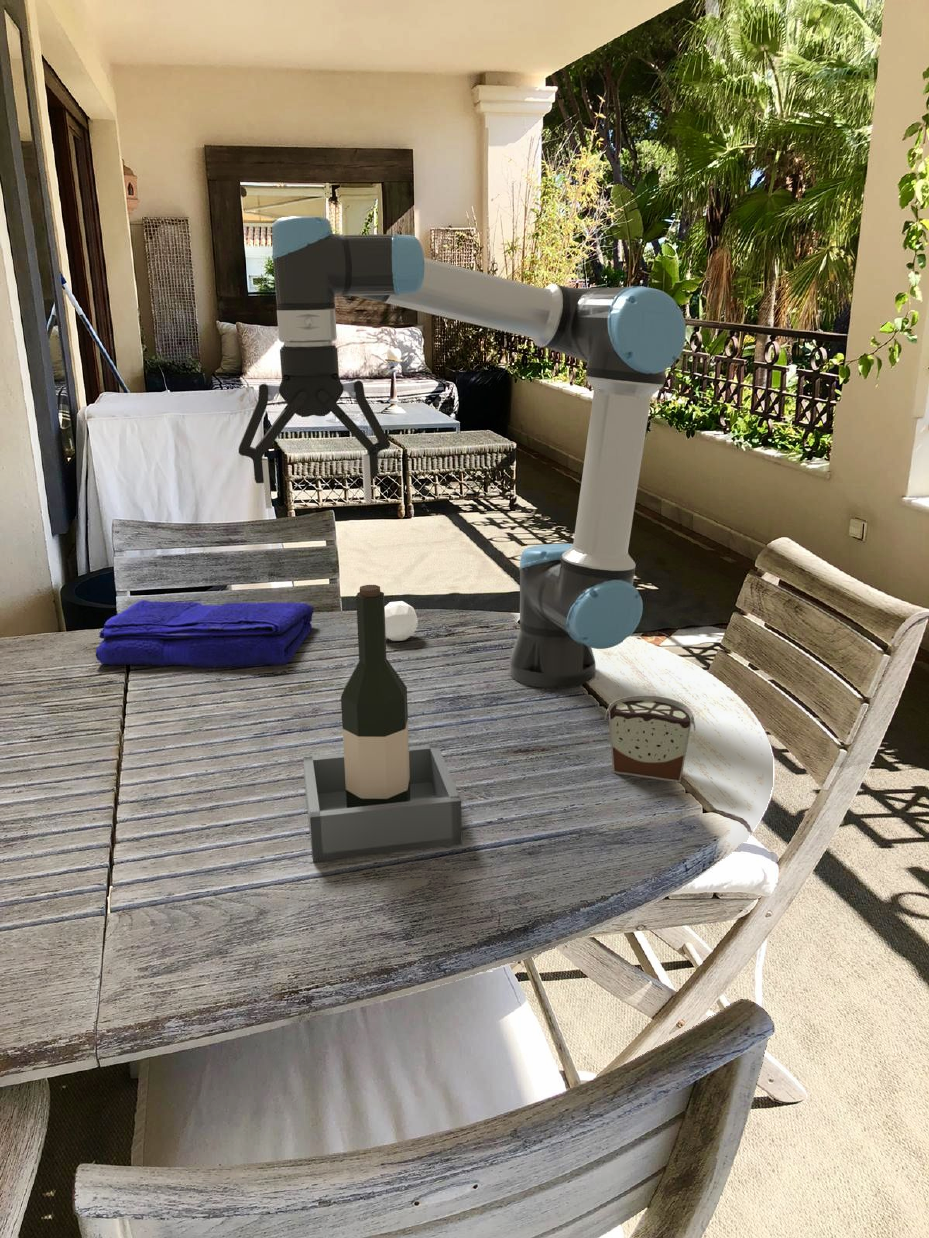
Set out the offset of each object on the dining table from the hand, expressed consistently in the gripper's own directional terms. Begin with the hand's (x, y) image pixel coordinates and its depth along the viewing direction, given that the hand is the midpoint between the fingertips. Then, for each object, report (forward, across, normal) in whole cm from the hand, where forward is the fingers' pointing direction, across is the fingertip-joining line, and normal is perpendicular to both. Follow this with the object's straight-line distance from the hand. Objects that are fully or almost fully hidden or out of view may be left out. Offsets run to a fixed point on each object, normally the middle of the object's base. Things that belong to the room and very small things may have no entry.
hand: (318, 503), depth 135 cm
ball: (+37, +16, +44) cm, 60 cm away
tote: (+36, +4, -24) cm, 44 cm away
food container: (+37, +43, -18) cm, 59 cm away
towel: (+37, -20, +49) cm, 64 cm away
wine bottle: (+36, +4, -24) cm, 43 cm away
